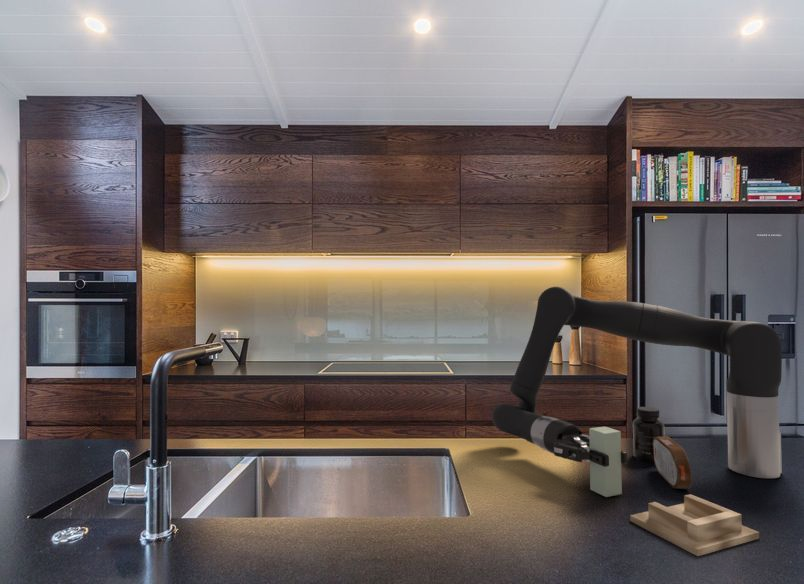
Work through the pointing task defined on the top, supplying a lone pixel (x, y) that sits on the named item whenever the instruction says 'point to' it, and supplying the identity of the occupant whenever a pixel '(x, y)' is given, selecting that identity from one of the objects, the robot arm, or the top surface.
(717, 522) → the rack
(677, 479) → the tin
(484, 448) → the top surface
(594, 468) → the green block
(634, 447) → the supplement bottle
